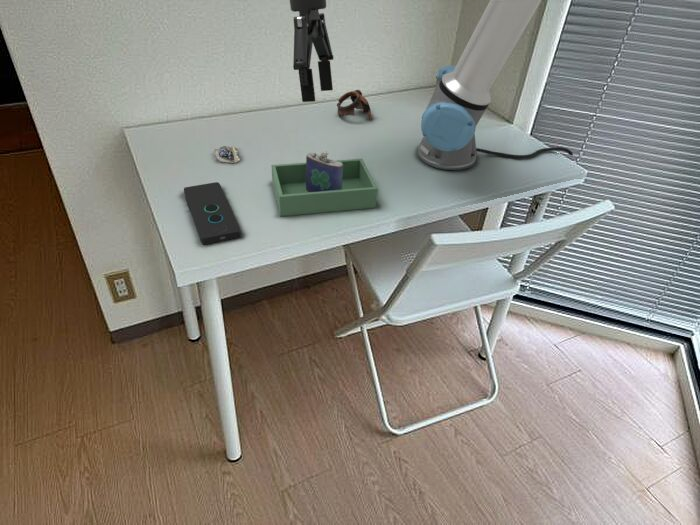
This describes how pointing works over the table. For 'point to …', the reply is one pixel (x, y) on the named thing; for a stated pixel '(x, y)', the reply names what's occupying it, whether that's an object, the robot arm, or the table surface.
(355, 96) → the brown looped sculpture
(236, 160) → the geode half
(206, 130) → the table surface
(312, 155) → the flask
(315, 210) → the open box
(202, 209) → the smart home device
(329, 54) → the robot arm
